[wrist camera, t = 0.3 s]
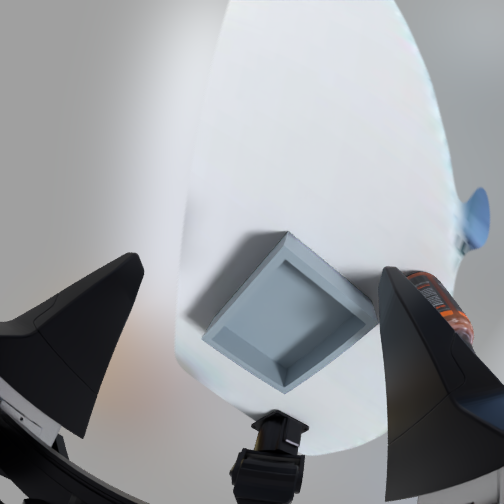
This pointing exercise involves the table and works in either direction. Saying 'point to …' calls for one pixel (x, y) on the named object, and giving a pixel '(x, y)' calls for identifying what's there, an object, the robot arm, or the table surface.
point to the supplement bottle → (444, 304)
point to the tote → (291, 317)
